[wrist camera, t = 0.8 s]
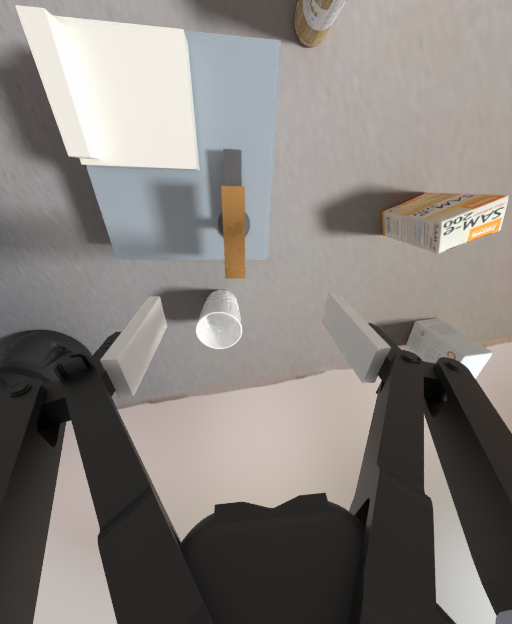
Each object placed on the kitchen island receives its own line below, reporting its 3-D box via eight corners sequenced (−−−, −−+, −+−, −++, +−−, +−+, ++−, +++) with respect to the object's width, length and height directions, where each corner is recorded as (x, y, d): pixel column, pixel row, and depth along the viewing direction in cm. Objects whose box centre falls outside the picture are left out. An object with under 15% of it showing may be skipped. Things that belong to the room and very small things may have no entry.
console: (138, 245, 36) (115, 260, 29) (90, 61, 25) (33, 11, 18) (261, 246, 39) (267, 260, 31) (268, 76, 27) (281, 37, 20)
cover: (93, 166, 24) (68, 162, 20) (51, 30, 19) (8, -7, 15) (199, 170, 25) (193, 167, 21) (187, 44, 20) (177, 12, 16)
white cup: (195, 299, 43) (185, 327, 34) (225, 279, 41) (223, 303, 33) (218, 324, 47) (215, 355, 38) (247, 307, 45) (250, 335, 37)
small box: (427, 341, 56) (475, 380, 45) (405, 345, 56) (447, 384, 45) (438, 317, 52) (495, 352, 41) (414, 320, 51) (463, 356, 40)
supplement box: (426, 190, 36) (512, 192, 25) (425, 218, 39) (502, 231, 28) (379, 210, 37) (442, 220, 26) (381, 236, 40) (439, 255, 29)
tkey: (227, 257, 30) (225, 278, 23) (222, 150, 24) (218, 135, 17) (242, 257, 30) (244, 278, 24) (241, 151, 24) (245, 137, 17)
